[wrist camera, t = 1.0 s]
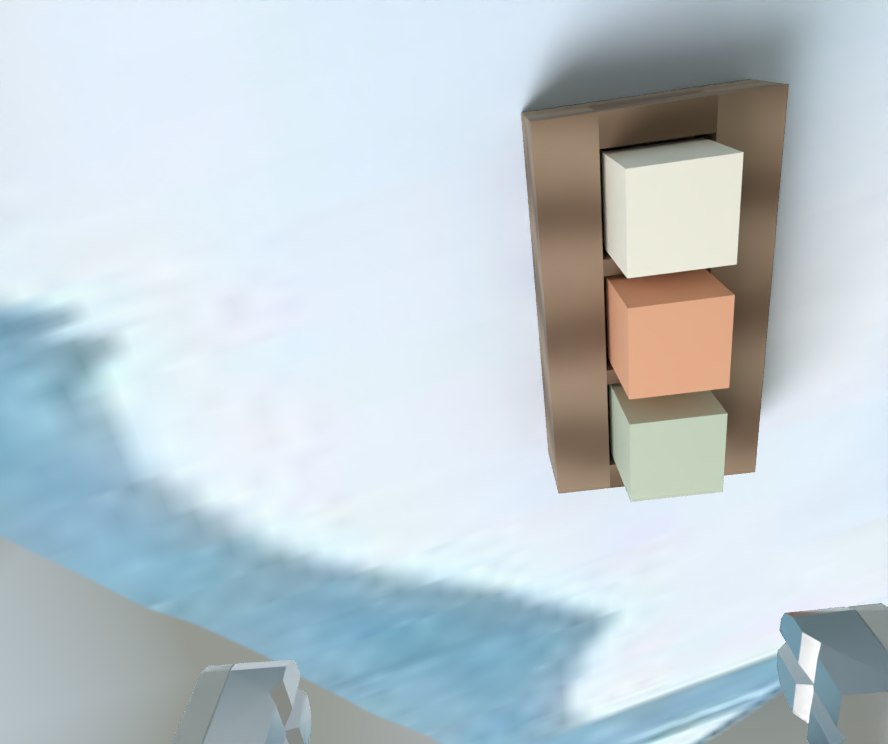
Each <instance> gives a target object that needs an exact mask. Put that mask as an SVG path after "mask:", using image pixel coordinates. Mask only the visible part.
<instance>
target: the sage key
mask: <svg viewBox="0 0 888 744" xmlns="http://www.w3.org/2000/svg"><path fill="white" fill-rule="evenodd" d="M609 412H610V444H611V453H612V456H613V458H614V461H615V463H616V466H617V468H618V471H619V473H620V476H621V478H622V481H623V483H624V486H625V488H626V491H627V493H628V496H629V498H630V501H631V502H632V501H642V500H651V499H660V498H670V497H679V496H688V495H697V494H707V493H716V492H723V481H724V465H725V448H726V432H727V415H728V413H727V412H726V411H725V409H724V408H723V407H722V405H721V404H720V403H719V401H718V400H717V399H716V397H715V396H714V395H713V393H712V392H711V391H710V390H707V391H698V392H690V393H681V394H673V395H664V396H656V397H647V398H639V399H630V400H629V398H628V396H627V394H626V392H625V390H624V388H623V386H622V384H621V383H616V384H609Z"/></svg>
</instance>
